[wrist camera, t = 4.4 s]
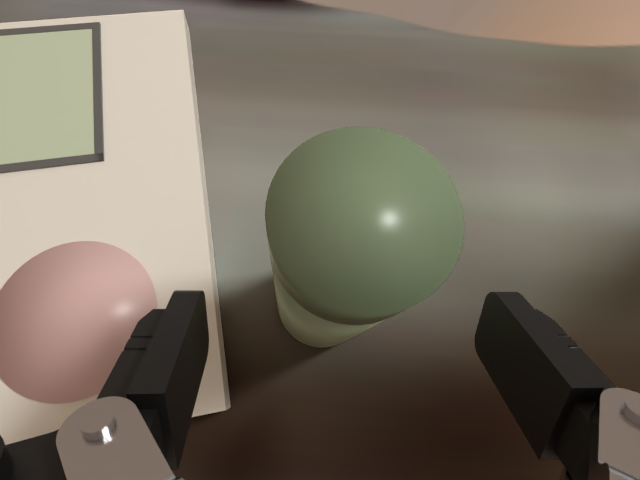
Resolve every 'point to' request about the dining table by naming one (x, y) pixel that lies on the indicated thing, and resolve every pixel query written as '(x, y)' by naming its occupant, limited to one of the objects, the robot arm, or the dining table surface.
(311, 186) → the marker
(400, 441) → the dining table surface
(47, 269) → the picture board
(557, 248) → the dining table surface
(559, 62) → the dining table surface
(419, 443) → the dining table surface
